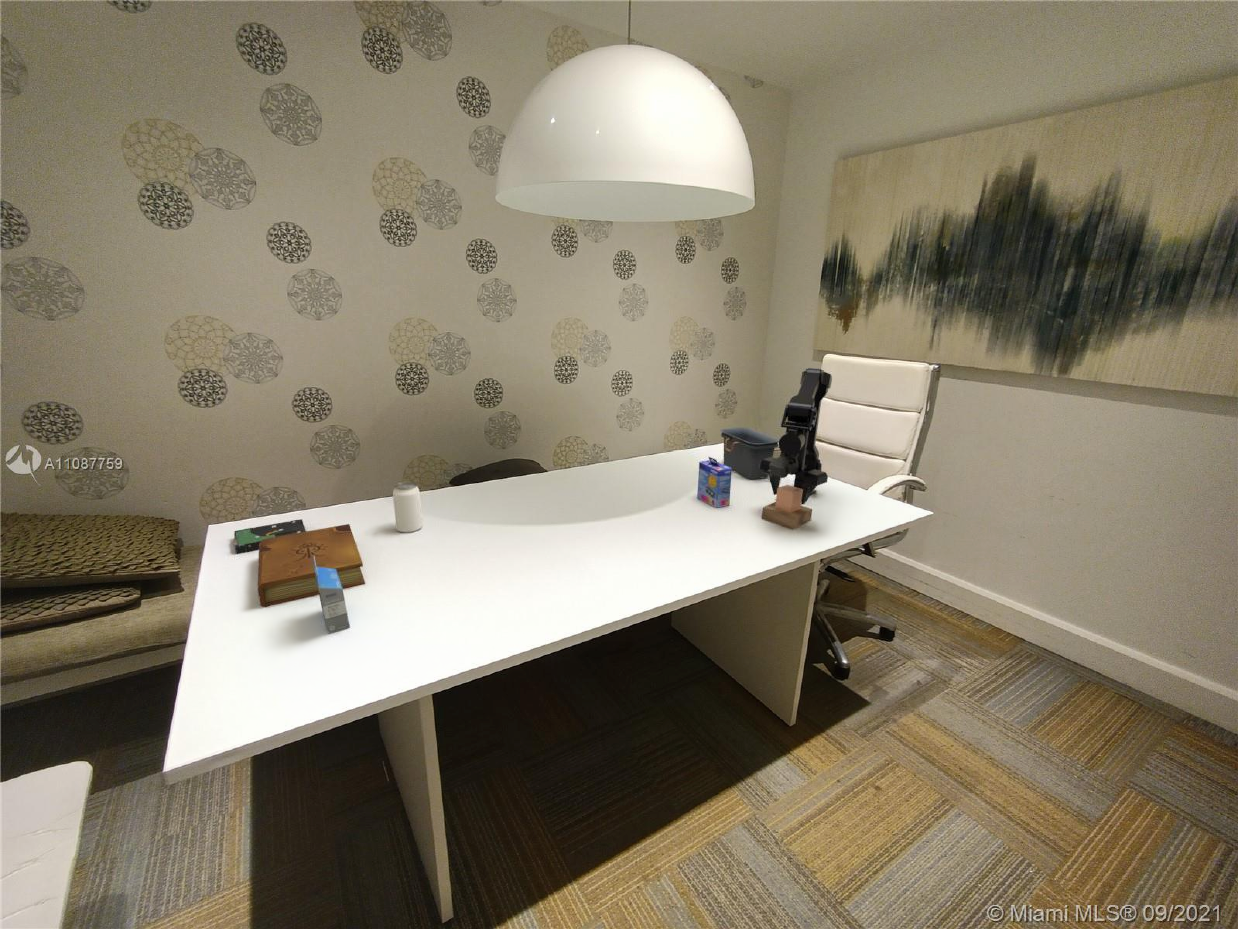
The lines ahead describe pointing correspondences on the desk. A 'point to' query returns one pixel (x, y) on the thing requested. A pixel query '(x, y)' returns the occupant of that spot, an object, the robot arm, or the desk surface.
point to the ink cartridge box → (714, 483)
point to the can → (407, 507)
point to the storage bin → (747, 450)
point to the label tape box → (331, 599)
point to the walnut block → (786, 516)
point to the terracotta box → (788, 498)
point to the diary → (306, 563)
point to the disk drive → (264, 534)
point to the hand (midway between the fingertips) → (788, 499)
